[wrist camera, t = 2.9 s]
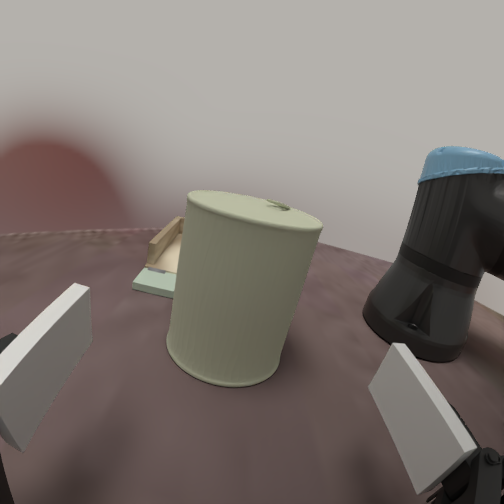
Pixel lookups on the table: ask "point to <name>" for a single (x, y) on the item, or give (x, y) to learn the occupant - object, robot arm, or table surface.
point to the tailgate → (155, 282)
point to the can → (237, 285)
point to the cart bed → (166, 247)
